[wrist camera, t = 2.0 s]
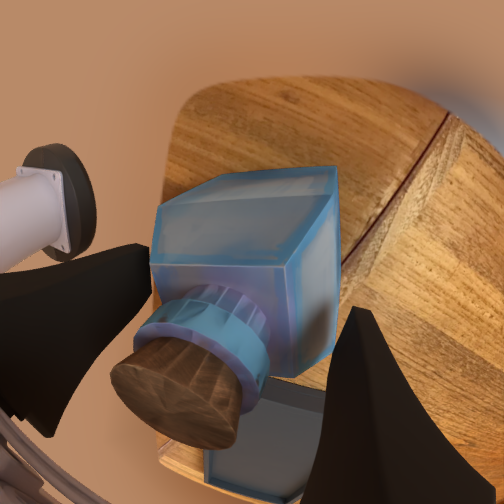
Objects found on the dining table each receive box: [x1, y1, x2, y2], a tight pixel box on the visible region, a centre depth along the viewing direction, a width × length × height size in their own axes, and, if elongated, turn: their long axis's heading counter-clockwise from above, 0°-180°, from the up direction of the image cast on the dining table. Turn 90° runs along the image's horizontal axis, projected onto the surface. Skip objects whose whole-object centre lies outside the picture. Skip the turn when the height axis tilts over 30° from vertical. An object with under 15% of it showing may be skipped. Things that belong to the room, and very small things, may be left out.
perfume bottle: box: [110, 166, 341, 451], centre depth 10 cm, size 6×6×12 cm
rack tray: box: [203, 377, 326, 504], centre depth 28 cm, size 16×36×2 cm, turn 172°
